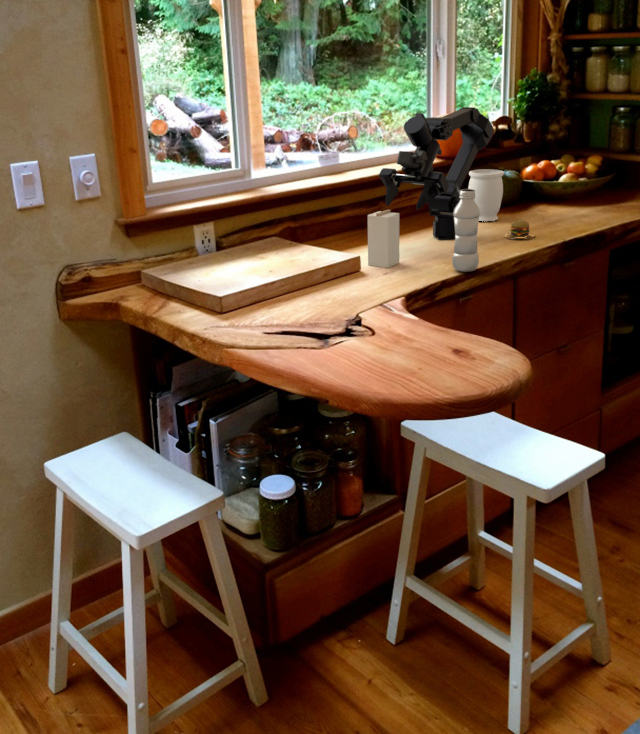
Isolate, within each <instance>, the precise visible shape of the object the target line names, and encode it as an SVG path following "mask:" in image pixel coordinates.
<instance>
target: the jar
mask: <svg viewBox="0 0 640 734" xmlns="http://www.w3.org/2000/svg"><path fill="white" fill-rule="evenodd" d="M504 173H505V171H503V170H499V169H492V168H491V169H489V168H488V169H487V168H486V169H485V168H482V169H474V170H469V171H468V175H469V177H470V179H469V182H468V187H467V189H474V190H475V198H474V201H475V202H476V204H477V205H478V207H479V210H480V216H479V221H482V222H481V223H486V222H485V221H493V222H496V221H495V220H497V219H498V220H499V217H498V215H497V214H498V213H499V212H500V208H501V204H502V200H503V195H504V183H503V178H502V177H503V176H504ZM498 220H497V221H498ZM483 221H484V222H483Z"/></svg>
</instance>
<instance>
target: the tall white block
mask: <svg viewBox="0 0 640 734" xmlns="http://www.w3.org/2000/svg"><path fill="white" fill-rule="evenodd" d="M391 211H392V209H389V208H388V209H385V210H383V211H381V210H379V211H376V212H373V213H369V214H367V264H368V266H371V265H372V267H379V268H384V267H387V268H386V269H389V268H391V267H393V265H394V266H396V265H398V264H400V212H391ZM397 263H398V264H397ZM395 264H396V265H395Z"/></svg>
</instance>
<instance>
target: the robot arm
mask: <svg viewBox="0 0 640 734" xmlns="http://www.w3.org/2000/svg"><path fill="white" fill-rule="evenodd" d="M458 129H459V131H460V132H461V134H460V136H461V139H462V144H461V146H460V148H459V150H458V152H457V154H456V157H455V158H454V160H453V162H452V164H451V167H450V168H449V170H448V172H447V175H446V176H445V174H444V172H442V171H441V172H440V171H434V166H433V165H434V162H435V160H436V156H442V149H441V145H440V144H439V142H438V141H447V140H448V139H450V138H451V137H452V136H453V135H454V134H453V133H454V131H455V130H458ZM403 130H404V132H405V134H406V136H407V137H408V140H409V141H410V144H411V145H412V146H413V147H416V148H415V150H414V151H406V150H404V151H401V150H400V151H398V156H397V158H396V159H397V160H396V164H397V165H400V166H401V171H402V172H404V174H400V173H399V172H398V171H397V170H396V168H388V167H384V168H383V167H382V168H381V169H380V171H379V173H378V177H379V178H380V180H381V182H382V183H383V185H384V186H385V189H386V192H385V205H386V207H390V205H391V204H392V202H393V200H394V199H395V198H396V196H397V194H399V193H398V192H399V191H400V190H399V188H400V187H401V185H402V183H403V184H405V183H406V184H413V185H420V186H421V185H422V186H423V189H422V190H421V193H420V195H419V198H418V200H417V202H416V205H415V208H416V210H420V209H421V208H422V207H424V206H425V205H426V204H427V205H428V211H429V216H430V217H434V220H433V222H432V235H433V237H434V238H436V239H437V240H439V241H441V240H452V239H453V240H455V224H454V216H453V212H454V208H455V207H456V205H457V204H458V202H459V201H460V198H459V196H460V190H461V188H462V185H463V183H464V180H465V179H466V176H467V175H468V174H469V172H470V169H471V167H472V164H473V162H474V160H475V158H476V156H477V153H478V152H479V151H480V150H482V149H483V148H485V147H486V146H487V145H488V143H489V142H490V141H491V139H492V137H493V136H494V126H493V124H492V123H491V120H490V119H489V118H488V117H487V116H485V115H484V114H482V113H480V111H479V109H478V108H476V107H473V106H471V107H470V106H469V107H468V106H466V107H465V106H463V107H460V108H458V110H455V111H453V112H451V113H448V114H446V115H443V116H438V117H437V116H432V117H431V116H430V117H426V116H425V114H424V113H422V112H419V113H418V112H417V113H416V114H415V115H414V116H412V117H410V118H409V119H408V120H407V121H406V122H404V125H403Z"/></svg>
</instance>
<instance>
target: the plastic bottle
mask: <svg viewBox="0 0 640 734" xmlns="http://www.w3.org/2000/svg"><path fill="white" fill-rule="evenodd" d="M459 198H460V201H459V202H458V204H457V205H456V207H455V208H454V212H453V216H454V224H455V239H454V246H453V247H454V248H453V254H452V258H451V259H452V260H451V263H452V267H453V269H454V270H455V271H458V272H465V273H468V272H469V273H470V272H474V271H476V269H478V267H479V264H480V263H479V262H480V261H479V253H478V229H479V228H478V227H479V223H480V222H479V216H480V210H479V207H478V205H477V204H476V202H475V201H474V198H475V190H474V189H468V188H464V189H460V196H459Z"/></svg>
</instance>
